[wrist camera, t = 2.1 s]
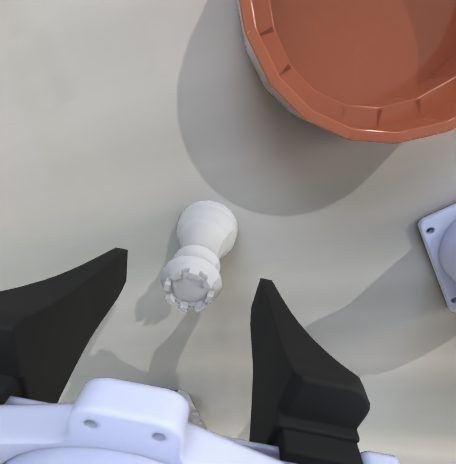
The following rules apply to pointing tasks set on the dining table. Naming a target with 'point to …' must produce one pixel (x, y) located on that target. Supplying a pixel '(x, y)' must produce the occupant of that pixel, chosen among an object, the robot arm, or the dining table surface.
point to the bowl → (358, 63)
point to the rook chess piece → (199, 255)
